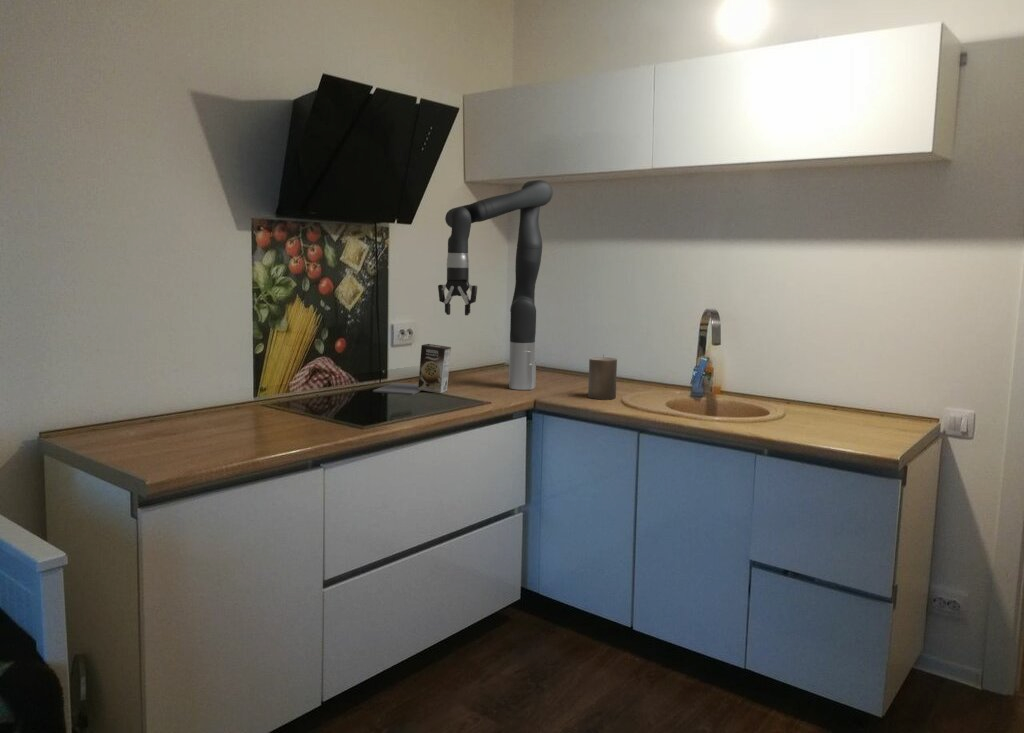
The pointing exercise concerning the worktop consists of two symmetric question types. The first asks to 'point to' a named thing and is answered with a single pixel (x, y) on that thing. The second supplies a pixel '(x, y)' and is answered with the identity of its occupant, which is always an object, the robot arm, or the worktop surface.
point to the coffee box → (434, 368)
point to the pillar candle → (602, 378)
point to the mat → (399, 388)
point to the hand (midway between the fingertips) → (457, 314)
